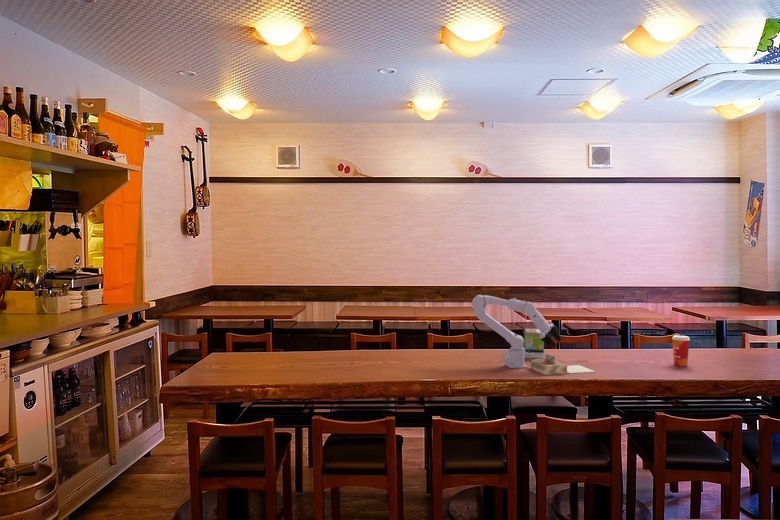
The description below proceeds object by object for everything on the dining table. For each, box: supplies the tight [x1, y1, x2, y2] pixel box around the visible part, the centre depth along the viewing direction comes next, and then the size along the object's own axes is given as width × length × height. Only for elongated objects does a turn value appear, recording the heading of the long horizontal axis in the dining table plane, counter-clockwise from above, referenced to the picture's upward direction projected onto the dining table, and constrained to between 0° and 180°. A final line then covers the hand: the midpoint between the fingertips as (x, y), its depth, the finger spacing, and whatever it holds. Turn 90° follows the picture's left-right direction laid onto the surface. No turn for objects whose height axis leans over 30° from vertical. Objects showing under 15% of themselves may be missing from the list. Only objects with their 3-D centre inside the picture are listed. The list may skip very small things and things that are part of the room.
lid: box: [537, 354, 565, 365], centre depth 249 cm, size 11×11×4 cm
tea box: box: [523, 328, 545, 360], centre depth 284 cm, size 15×10×15 cm, turn 168°
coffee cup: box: [671, 334, 691, 367], centre depth 261 cm, size 8×8×15 cm
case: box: [530, 358, 568, 376], centre depth 249 cm, size 12×14×4 cm
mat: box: [567, 364, 596, 374], centre depth 251 cm, size 14×14×1 cm
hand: (557, 343), depth 253 cm, fingers open, 7 cm apart
